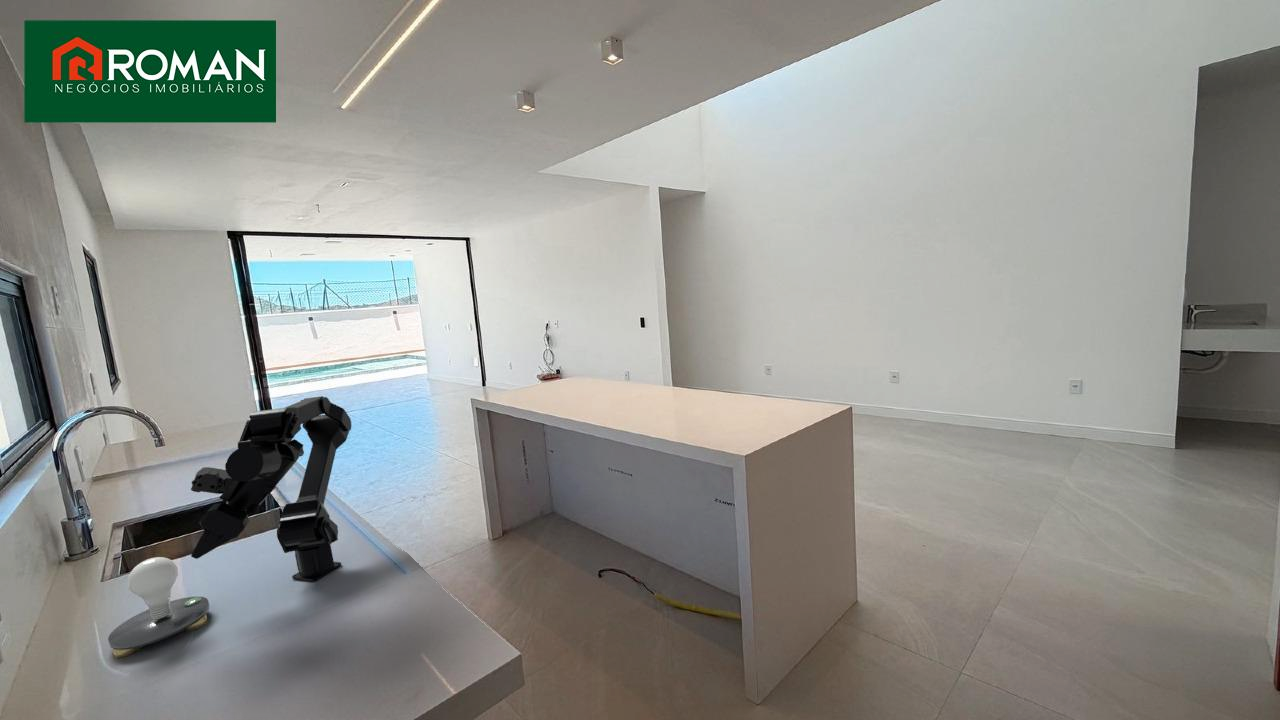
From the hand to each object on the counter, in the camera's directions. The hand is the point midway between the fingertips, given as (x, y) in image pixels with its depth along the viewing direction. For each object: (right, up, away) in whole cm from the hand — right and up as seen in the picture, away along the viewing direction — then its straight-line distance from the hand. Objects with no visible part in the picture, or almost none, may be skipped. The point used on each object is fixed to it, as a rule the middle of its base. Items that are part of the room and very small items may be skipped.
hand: (202, 546), depth 91 cm
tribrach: (-6, -15, -2) cm, 16 cm away
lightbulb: (-6, -12, -2) cm, 14 cm away
